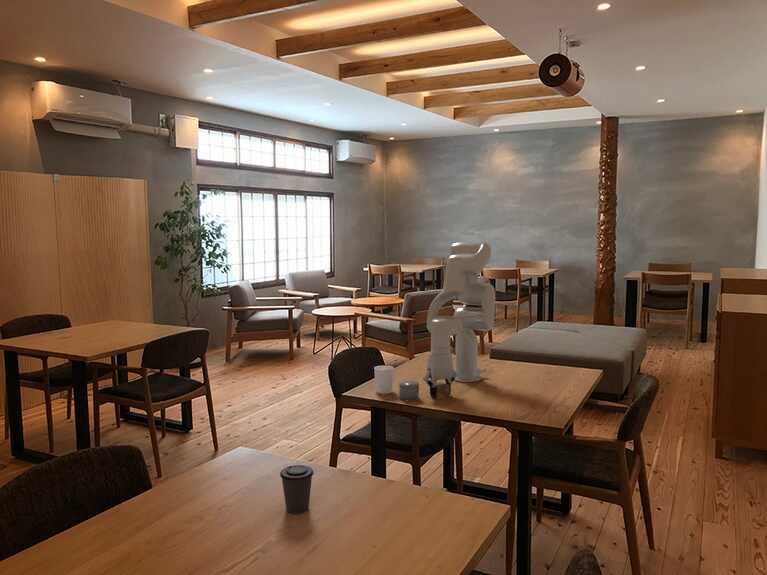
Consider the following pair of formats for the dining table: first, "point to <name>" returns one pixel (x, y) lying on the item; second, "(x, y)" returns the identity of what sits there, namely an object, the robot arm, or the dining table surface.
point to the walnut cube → (442, 390)
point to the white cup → (384, 379)
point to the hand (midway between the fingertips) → (440, 394)
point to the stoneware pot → (409, 390)
